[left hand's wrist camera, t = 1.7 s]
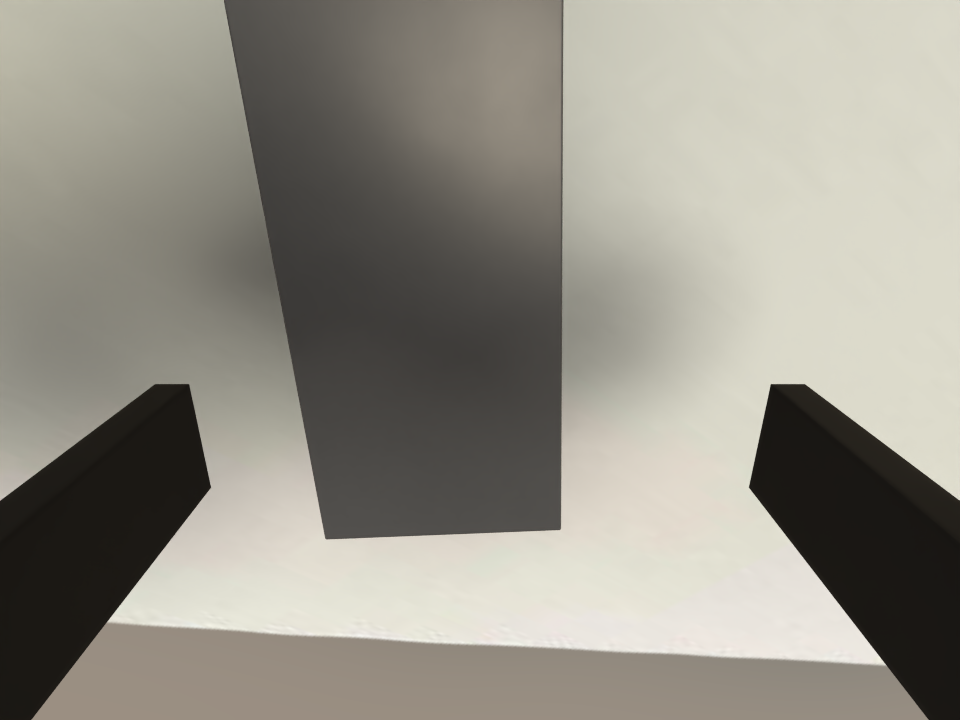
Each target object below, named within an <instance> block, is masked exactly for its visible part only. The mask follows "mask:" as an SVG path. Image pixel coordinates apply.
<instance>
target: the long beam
mask: <svg viewBox="0 0 960 720" xmlns="http://www.w3.org/2000/svg"><path fill="white" fill-rule="evenodd" d="M224 3H225V9H226V14H227V19H228V25H229V30H230V35H231V41H232V46H233V51H234V56H235V62H236V67H237V72H238V78H239V83H240V88H241V94H242V99H243V104H244V110H245V115H246V120H247V125H248V131H249V136H250V141H251V147H252V152H253V157H254V163H255V168H256V173H257V178H258V184H259V189H260V194H261V200H262V205H263V210H264V216H265V221H266V226H267V231H268V237H269V242H270V247H271V253H272V258H273V263H274V269H275V274H276V279H277V285H278V290H279V295H280V300H281V306H282V311H283V316H284V322H285V327H286V332H287V338H288V343H289V348H290V353H291V359H292V364H293V369H294V375H295V380H296V385H297V391H298V396H299V401H300V406H301V412H302V417H303V422H304V428H305V433H306V438H307V444H308V449H309V454H310V460H311V465H312V470H313V475H314V481H315V486H316V491H317V497H318V502H319V507H320V513H321V518H322V523H323V528H324V534H325V539H347V538H372V537H397V536H421V535H446V534H471V533H496V532H521V531H545V530H560V529H561V399H562V172H563V0H224Z"/></svg>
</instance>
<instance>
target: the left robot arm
mask: <svg viewBox="0 0 960 720" xmlns="http://www.w3.org/2000/svg"><path fill="white" fill-rule="evenodd" d="M210 488H211V485H210V481H209V476H208V471H207V466H206V462H205V457H204V452H203V448H202V443H201V438H200V433H199V429H198V424H197V419H196V415H195V410H194V405H193V400H192V396H191V391H190V386H189V384H155V385H154V386H152V387H151V388H150V389H148V390H147V391H146V392H144V393H143V394H142V395H140V396H139V397H138V398H136V399H135V400H134V401H132V402H131V403H130V404H128V405H127V406H126V407H124V408H123V409H122V410H120V411H119V412H118V413H116V414H115V415H114V416H112V417H111V418H110V419H108V420H107V421H106V422H104V423H103V424H102V425H100V426H99V427H98V428H96V429H95V430H94V431H92V432H91V433H90V434H88V435H87V436H86V437H84V438H83V439H82V440H80V441H79V442H78V443H76V444H75V445H74V446H72V447H71V448H70V449H68V450H67V451H66V452H65V453H63V454H62V455H61V456H59V457H58V458H57V459H55V460H54V461H53V462H51V463H50V464H49V465H47V466H46V467H45V468H43V469H42V470H41V471H39V472H38V473H37V474H35V475H34V476H33V477H31V478H30V479H29V480H27V481H26V482H25V483H23V484H22V485H21V486H19V487H18V488H17V489H15V490H14V491H13V492H11V493H10V494H9V495H7V496H6V497H5V498H3V499H2V500H1V501H0V720H31V719H32V718H33V717H34V716H35V714H36V713H37V712H38V710H39V709H40V708H41V707H42V705H43V704H44V703H45V701H46V700H47V699H48V697H49V696H50V695H51V694H52V692H53V691H54V690H55V688H56V687H57V686H58V685H59V683H60V682H61V681H62V679H63V678H64V677H65V676H66V674H67V673H68V672H69V670H70V669H71V668H72V666H73V665H74V664H75V663H76V661H77V660H78V659H79V657H80V656H81V655H82V654H83V652H84V651H85V650H86V648H87V647H88V646H89V644H90V643H91V642H92V641H93V639H94V638H95V637H96V635H97V634H98V633H99V632H100V630H101V629H102V628H103V626H104V625H105V624H106V623H107V621H108V620H109V619H110V617H111V616H112V615H113V613H114V612H115V611H116V610H117V608H118V607H119V606H120V604H121V603H122V602H123V601H124V599H125V598H126V597H127V595H128V594H129V593H130V592H131V590H132V589H133V588H134V586H135V585H136V584H137V582H138V581H139V580H140V579H141V577H142V576H143V575H144V573H145V572H146V571H147V570H148V568H149V567H150V566H151V564H152V563H153V562H154V560H155V559H156V558H157V557H158V555H159V554H160V553H161V551H162V550H163V549H164V548H165V546H166V545H167V544H168V542H169V541H170V540H171V539H172V537H173V536H174V535H175V533H176V532H177V531H178V529H179V528H180V527H181V526H182V524H183V523H184V522H185V520H186V519H187V518H188V517H189V515H190V514H191V513H192V511H193V510H194V509H195V508H196V506H197V505H198V504H199V502H200V501H201V500H202V498H203V497H204V496H205V495H206V493H207V492H208V491H209V489H210ZM749 488H750V489H751V491H752V492H753V493H754V495H755V496H756V497H757V498H758V500H759V501H760V502H761V504H762V505H763V506H764V508H765V509H766V510H767V511H768V513H769V514H770V515H771V517H772V518H773V519H774V520H775V522H776V523H777V524H778V526H779V527H780V528H781V529H782V531H783V532H784V533H785V535H786V536H787V537H788V539H789V540H790V541H791V542H792V544H793V545H794V546H795V548H796V549H797V550H798V551H799V553H800V554H801V555H802V557H803V558H804V559H805V560H806V562H807V563H808V564H809V566H810V567H811V568H812V570H813V571H814V572H815V573H816V575H817V576H818V577H819V579H820V580H821V581H822V582H823V584H824V585H825V586H826V588H827V589H828V590H829V592H830V593H831V594H832V595H833V597H834V598H835V599H836V601H837V602H838V603H839V604H840V606H841V607H842V608H843V610H844V611H845V612H846V613H847V615H848V616H849V617H850V619H851V620H852V621H853V623H854V624H855V625H856V626H857V628H858V629H859V630H860V632H861V633H862V634H863V635H864V637H865V638H866V639H867V641H868V642H869V643H870V645H871V646H872V647H873V648H874V650H875V651H876V652H877V654H878V655H879V656H880V657H881V659H882V660H883V661H884V663H885V664H886V665H887V666H888V668H889V669H890V670H891V672H892V673H893V674H894V676H895V677H896V678H897V679H898V681H899V682H900V683H901V685H902V686H903V687H904V688H905V690H906V691H907V692H908V694H909V695H910V696H911V697H912V699H913V700H914V701H915V703H916V704H917V705H918V707H919V708H920V709H921V710H922V712H923V713H924V714H925V716H926V717H927V718H928V719H929V720H960V500H958V499H957V498H955V497H954V496H953V495H951V494H950V493H949V492H947V491H946V490H945V489H943V488H942V487H941V486H939V485H938V484H937V483H935V482H934V481H933V480H931V479H930V478H929V477H927V476H926V475H925V474H923V473H922V472H921V471H919V470H918V469H917V468H915V467H914V466H913V465H911V464H910V463H909V462H907V461H906V460H905V459H903V458H902V457H901V456H899V455H898V454H897V453H895V452H894V451H893V450H892V449H890V448H889V447H888V446H886V445H885V444H884V443H882V442H881V441H880V440H878V439H877V438H876V437H874V436H873V435H872V434H870V433H869V432H868V431H866V430H865V429H864V428H862V427H861V426H860V425H858V424H857V423H856V422H854V421H853V420H852V419H850V418H849V417H848V416H846V415H845V414H844V413H842V412H841V411H840V410H838V409H837V408H836V407H834V406H833V405H832V404H830V403H829V402H828V401H826V400H825V399H824V398H822V397H821V396H820V395H818V394H817V393H816V392H814V391H813V390H812V389H810V388H809V387H808V386H806V385H805V384H771V386H770V391H769V396H768V400H767V405H766V410H765V415H764V419H763V424H762V429H761V433H760V438H759V443H758V448H757V452H756V457H755V462H754V466H753V471H752V476H751V481H750V485H749Z"/></svg>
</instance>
